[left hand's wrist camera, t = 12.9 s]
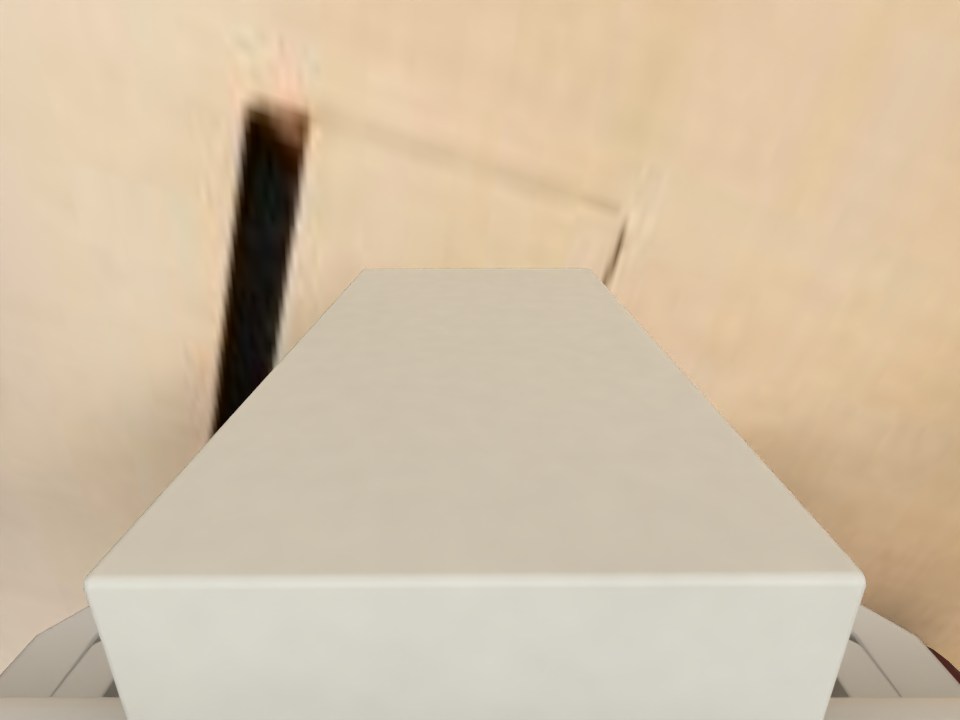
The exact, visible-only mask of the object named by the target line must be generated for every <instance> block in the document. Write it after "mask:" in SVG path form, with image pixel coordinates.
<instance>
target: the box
mask: <svg viewBox="0 0 960 720" xmlns="http://www.w3.org/2000/svg"><path fill="white" fill-rule="evenodd" d="M865 587H866V580H865V576H864V574H863V572H862V571H861V570H860V569H859V568H858V567H857V565H856V564H855V563H854V562H853V561H852V560H851V559H850V558H849V557H848V555H847V554H846V553H845V552H844V551H843V550H842V549H841V548H840V546H839V545H838V544H837V543H836V542H835V541H834V540H833V539H832V538H831V536H830V535H829V534H828V533H827V532H826V531H825V530H824V529H823V528H822V526H821V525H820V524H819V523H818V522H817V521H816V520H815V519H814V518H813V516H812V515H811V514H810V513H809V512H808V511H807V510H806V509H805V508H804V506H803V505H802V504H801V503H800V502H799V501H798V500H797V499H796V498H795V496H794V495H793V494H792V493H791V492H790V491H789V490H788V489H787V488H786V486H785V485H784V484H783V483H782V482H781V481H780V480H779V479H778V478H777V476H776V475H775V474H774V473H773V472H772V471H771V470H770V469H769V468H768V466H767V465H766V464H765V463H764V462H763V461H762V460H761V459H760V458H759V456H758V455H757V454H756V453H755V452H754V451H753V450H752V449H751V447H750V446H749V445H748V444H747V443H746V442H745V441H744V440H743V439H742V437H741V436H740V435H739V434H738V433H737V432H736V431H735V430H734V429H733V427H732V426H731V425H730V424H729V423H728V422H727V421H726V420H725V419H724V417H723V416H722V415H721V414H720V413H719V412H718V411H717V410H716V409H715V407H714V406H713V405H712V404H711V403H710V402H709V401H708V400H707V399H706V397H705V396H704V395H703V394H702V393H701V392H700V391H699V390H698V389H697V387H696V386H695V385H694V384H693V383H692V382H691V381H690V380H689V379H688V377H687V376H686V375H685V374H684V373H683V372H682V371H681V370H680V369H679V367H678V366H677V365H676V364H675V363H674V362H673V361H672V360H671V359H670V357H669V356H668V355H667V354H666V353H665V352H664V351H663V350H662V349H661V347H660V346H659V345H658V344H657V343H656V342H655V341H654V340H653V338H652V337H651V336H650V335H649V334H648V333H647V332H646V331H645V330H644V328H643V327H642V326H641V325H640V324H639V323H638V322H637V321H636V320H635V318H634V317H633V316H632V315H631V314H630V313H629V312H628V311H627V310H626V308H625V307H624V306H623V305H622V304H621V303H620V302H619V301H618V300H617V298H616V297H615V296H614V295H613V294H612V293H611V292H610V291H609V290H608V288H607V287H606V286H605V285H604V284H603V283H602V282H601V281H600V280H599V278H598V277H597V276H596V275H595V274H594V273H593V272H592V271H591V270H590V269H588V268H528V269H364V270H363V271H362V272H361V273H360V274H359V275H358V276H357V277H356V279H355V280H354V281H353V282H352V283H351V284H350V285H349V286H348V287H347V289H346V290H345V291H344V292H343V293H342V294H341V295H340V296H339V297H338V298H337V300H336V301H335V302H334V303H333V304H332V305H331V306H330V307H329V308H328V310H327V311H326V312H325V313H324V314H323V315H322V316H321V317H320V318H319V320H318V321H317V322H316V323H315V324H314V325H313V326H312V327H311V328H310V329H309V331H308V332H307V333H306V334H305V335H304V336H303V337H302V338H301V339H300V341H299V342H298V343H297V344H296V345H295V346H294V347H293V348H292V349H291V351H290V352H289V353H288V354H287V355H286V356H285V357H284V358H283V359H282V360H281V362H280V363H279V364H278V365H277V366H276V367H275V368H274V369H273V370H272V372H271V373H270V374H269V375H268V376H267V377H266V378H265V379H264V380H263V382H262V383H261V384H260V385H259V386H258V387H257V388H256V389H255V390H254V391H253V393H252V394H251V395H250V396H249V397H248V398H247V399H246V400H245V401H244V403H243V404H242V405H241V406H240V407H239V408H238V409H237V410H236V411H235V413H234V414H233V415H232V416H231V417H230V418H229V419H228V420H227V421H226V422H225V424H224V425H223V426H222V427H221V428H220V429H219V430H218V431H217V432H216V434H215V435H214V436H213V437H212V438H211V439H210V440H209V441H208V442H207V444H206V445H205V446H204V447H203V448H202V449H201V450H200V451H199V452H198V453H197V455H196V456H195V457H194V458H193V459H192V460H191V461H190V462H189V463H188V465H187V466H186V467H185V468H184V469H183V470H182V471H181V472H180V473H179V474H178V476H177V477H176V478H175V479H174V480H173V481H172V482H171V483H170V484H169V486H168V487H167V488H166V489H165V490H164V491H163V492H162V493H161V494H160V496H159V497H158V498H157V499H156V500H155V501H154V502H153V503H152V504H151V505H150V507H149V508H148V509H147V510H146V511H145V512H144V513H143V514H142V515H141V517H140V518H139V519H138V520H137V521H136V522H135V523H134V524H133V525H132V527H131V528H130V529H129V530H128V531H127V532H126V533H125V534H124V535H123V536H122V538H121V539H120V540H119V541H118V542H117V543H116V544H115V545H114V546H113V548H112V549H111V550H110V551H109V552H108V553H107V554H106V555H105V556H104V558H103V559H102V560H101V561H100V562H99V563H98V564H97V565H96V566H95V567H94V569H93V570H92V571H91V572H90V573H89V574H88V575H87V577H86V579H85V582H84V591H85V594H86V597H87V600H88V603H89V606H90V609H91V612H92V615H93V618H94V621H95V624H96V627H97V630H98V633H99V636H100V639H101V642H102V645H103V648H104V651H105V654H106V657H107V660H108V663H109V666H110V669H111V672H112V675H113V678H114V682H115V685H116V688H117V691H118V694H119V697H120V700H121V703H122V706H123V709H124V712H125V715H126V718H127V720H823V719H824V715H825V712H826V709H827V706H828V703H829V700H830V697H831V694H832V690H833V687H834V684H835V681H836V678H837V675H838V672H839V669H840V665H841V662H842V659H843V656H844V653H845V650H846V647H847V644H848V640H849V637H850V634H851V631H852V628H853V625H854V622H855V618H856V615H857V612H858V609H859V606H860V603H861V600H862V597H863V593H864V590H865Z"/></svg>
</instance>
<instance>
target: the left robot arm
mask: <svg viewBox="0 0 960 720" xmlns="http://www.w3.org/2000/svg"><path fill="white" fill-rule="evenodd" d="M0 720H127V718H126V715H125V712H124V709H123V706H122V703H121V700H120V697H119V694H118V691H117V688H116V685H115V682H114V678H113V675H112V672H111V669H110V666H109V663H108V660H107V657H106V654H105V651H104V648H103V645H102V642H101V639H100V636H99V633H98V630H97V627H96V624H95V621H94V618H93V615H92V612H91V609H90V606H88V607H86V608H84V609H83V610H81V611H79V612H77V613H76V614H74V615H72V616H70V617H68V618H67V619H65V620H63V621H61V622H60V623H58V624H56V625H54V626H53V627H51V628H49V629H47V630H45V631H44V632H42V633H40V634H38V635H37V636H36V637H35V638H34V639H33V640H32V641H31V642H30V643H29V644H28V645H27V646H26V648H25V649H24V650H23V651H22V652H21V653H20V654H19V655H18V656H17V657H16V659H15V660H14V661H13V662H12V663H11V664H10V665H9V666H8V667H7V668H6V670H5V671H4V672H3V673H2V674H1V675H0ZM823 720H960V684H959V683H958V682H957V680H956V679H955V678H954V677H953V676H952V675H951V674H950V673H949V671H948V670H947V669H946V668H945V667H944V666H943V665H942V664H941V662H940V661H939V660H938V659H937V658H936V657H935V656H934V655H933V653H932V652H931V651H930V650H929V649H928V648H927V647H926V646H925V644H924V643H923V642H922V641H921V640H920V639H919V638H918V637H917V636H916V635H914V634H912V633H910V632H909V631H907V630H905V629H903V628H902V627H900V626H898V625H896V624H895V623H893V622H891V621H889V620H888V619H886V618H884V617H882V616H881V615H879V614H877V613H875V612H874V611H872V610H870V609H868V608H867V607H865V606H863V605H861V604H860V606H859V609H858V612H857V615H856V618H855V622H854V625H853V628H852V631H851V634H850V637H849V640H848V644H847V647H846V650H845V653H844V656H843V659H842V662H841V665H840V669H839V672H838V675H837V678H836V681H835V684H834V687H833V690H832V694H831V697H830V700H829V703H828V706H827V709H826V712H825V715H824V719H823Z"/></svg>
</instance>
